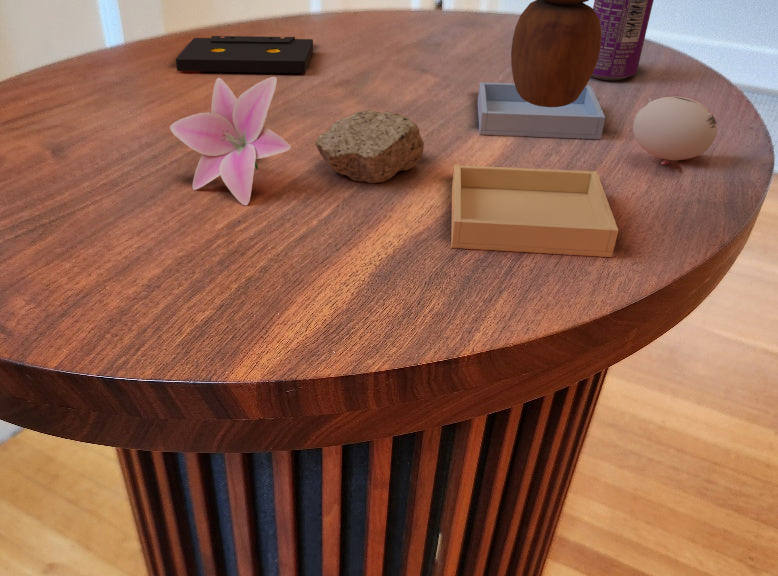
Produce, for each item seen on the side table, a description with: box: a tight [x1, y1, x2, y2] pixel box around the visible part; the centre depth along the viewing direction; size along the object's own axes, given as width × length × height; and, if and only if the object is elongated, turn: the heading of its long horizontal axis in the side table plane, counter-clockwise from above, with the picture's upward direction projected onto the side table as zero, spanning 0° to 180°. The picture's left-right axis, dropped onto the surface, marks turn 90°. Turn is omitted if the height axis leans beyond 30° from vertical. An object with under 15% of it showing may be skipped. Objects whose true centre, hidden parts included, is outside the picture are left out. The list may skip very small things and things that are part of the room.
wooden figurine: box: [510, 0, 602, 107], centre depth 59 cm, size 7×6×15 cm
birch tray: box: [450, 164, 619, 258], centre depth 69 cm, size 13×12×2 cm
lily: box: [169, 76, 292, 206], centre depth 75 cm, size 12×12×10 cm
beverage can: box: [591, 0, 655, 81], centre depth 101 cm, size 7×7×12 cm
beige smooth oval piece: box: [632, 95, 718, 166], centre depth 78 cm, size 8×6×7 cm
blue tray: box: [477, 81, 606, 140], centre depth 90 cm, size 13×11×2 cm
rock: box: [314, 110, 425, 184], centre depth 77 cm, size 10×8×8 cm
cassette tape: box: [175, 35, 314, 74], centre depth 111 cm, size 18×12×2 cm, turn 84°
